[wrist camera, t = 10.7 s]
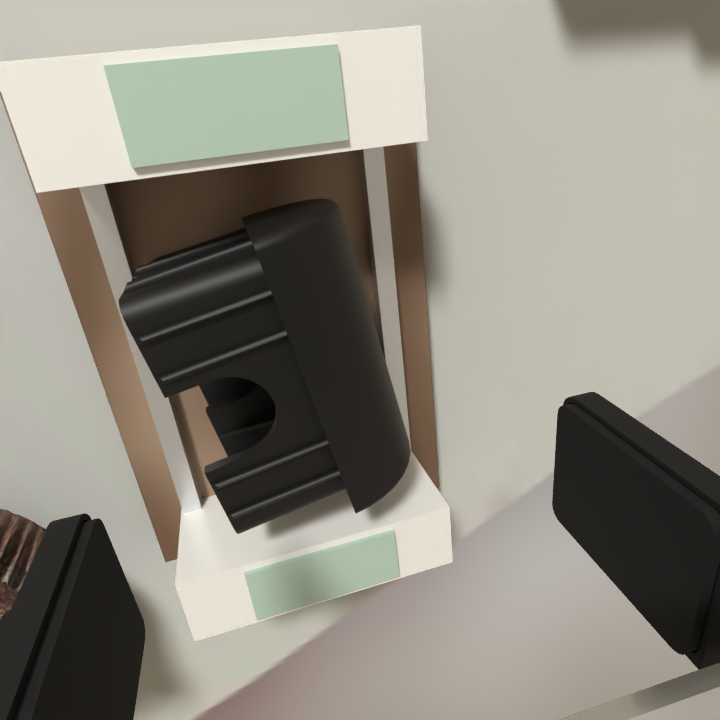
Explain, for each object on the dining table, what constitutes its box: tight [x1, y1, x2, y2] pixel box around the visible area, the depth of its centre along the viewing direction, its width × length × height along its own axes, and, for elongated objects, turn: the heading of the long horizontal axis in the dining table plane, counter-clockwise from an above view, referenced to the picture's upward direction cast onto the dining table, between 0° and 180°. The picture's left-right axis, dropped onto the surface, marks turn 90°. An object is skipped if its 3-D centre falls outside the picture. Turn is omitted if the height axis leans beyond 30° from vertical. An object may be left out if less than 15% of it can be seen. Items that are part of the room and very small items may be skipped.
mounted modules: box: [0, 25, 453, 641], centre depth 19 cm, size 11×20×5 cm, turn 7°
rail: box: [79, 147, 412, 514], centre depth 21 cm, size 11×20×1 cm, turn 8°
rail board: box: [0, 92, 439, 562], centre depth 22 cm, size 14×20×1 cm
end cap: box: [119, 199, 411, 534], centre depth 19 cm, size 10×7×7 cm
